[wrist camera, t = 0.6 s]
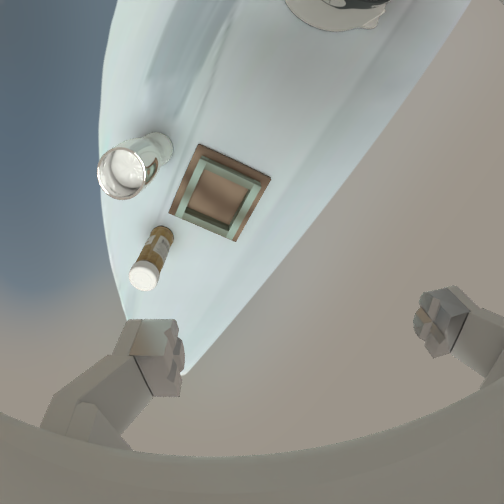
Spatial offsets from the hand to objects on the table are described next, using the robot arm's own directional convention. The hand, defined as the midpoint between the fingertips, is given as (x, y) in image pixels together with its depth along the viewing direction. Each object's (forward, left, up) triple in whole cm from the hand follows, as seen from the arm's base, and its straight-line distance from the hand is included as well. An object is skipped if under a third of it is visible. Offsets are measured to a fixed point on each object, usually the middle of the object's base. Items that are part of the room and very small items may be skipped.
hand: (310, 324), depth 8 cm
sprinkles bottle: (+23, -7, -39) cm, 46 cm away
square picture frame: (+11, -1, -39) cm, 41 cm away
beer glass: (+9, -14, -39) cm, 42 cm away
